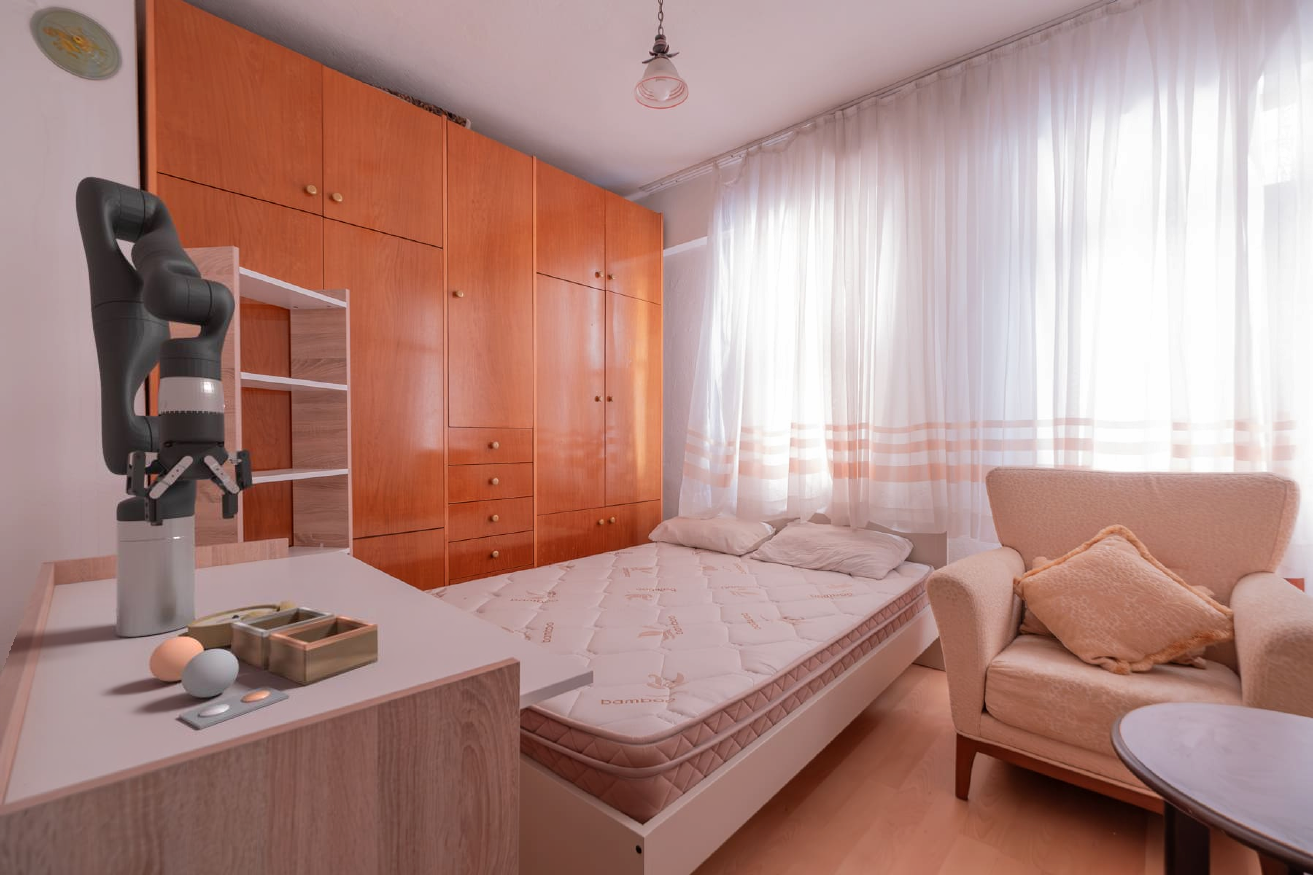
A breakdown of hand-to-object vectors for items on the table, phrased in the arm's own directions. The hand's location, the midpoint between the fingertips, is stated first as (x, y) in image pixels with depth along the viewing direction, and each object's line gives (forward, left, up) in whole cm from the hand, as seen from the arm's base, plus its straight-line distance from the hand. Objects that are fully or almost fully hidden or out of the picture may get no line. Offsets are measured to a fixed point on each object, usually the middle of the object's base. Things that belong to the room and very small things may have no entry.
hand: (193, 522), depth 82 cm
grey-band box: (+17, +4, -17) cm, 25 cm away
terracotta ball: (+16, -7, -15) cm, 23 cm away
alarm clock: (+5, +5, -18) cm, 19 cm away
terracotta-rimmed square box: (+27, +4, -17) cm, 32 cm away
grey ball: (+25, -7, -15) cm, 30 cm away
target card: (+31, -7, -17) cm, 36 cm away
